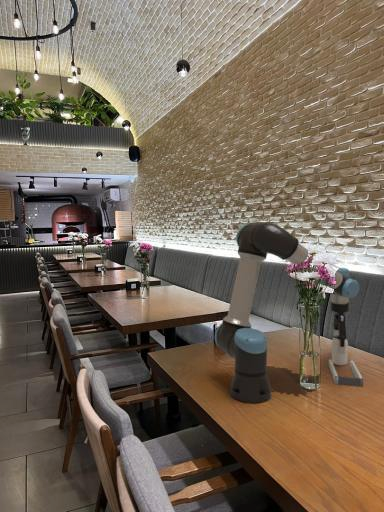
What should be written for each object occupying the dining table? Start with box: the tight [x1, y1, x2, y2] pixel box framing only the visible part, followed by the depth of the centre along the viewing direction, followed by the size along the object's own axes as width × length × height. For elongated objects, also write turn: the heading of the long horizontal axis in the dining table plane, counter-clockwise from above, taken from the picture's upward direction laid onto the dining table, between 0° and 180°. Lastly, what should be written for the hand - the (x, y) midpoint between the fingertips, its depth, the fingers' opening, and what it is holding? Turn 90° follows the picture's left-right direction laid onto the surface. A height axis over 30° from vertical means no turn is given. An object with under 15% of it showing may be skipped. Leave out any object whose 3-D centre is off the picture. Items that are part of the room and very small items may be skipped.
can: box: [331, 335, 349, 367], centre depth 171 cm, size 6×6×12 cm
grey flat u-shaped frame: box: [328, 358, 364, 387], centre depth 158 cm, size 20×10×3 cm, turn 167°
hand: (339, 348), depth 173 cm, fingers open, 13 cm apart
